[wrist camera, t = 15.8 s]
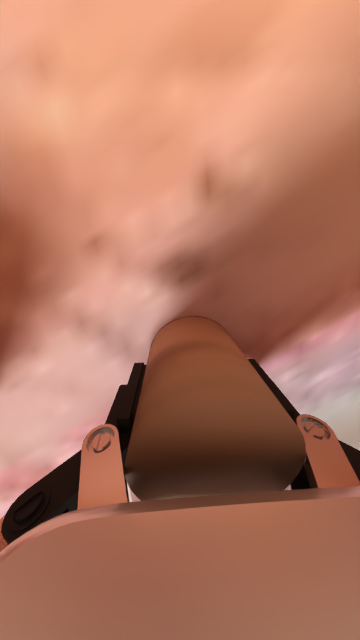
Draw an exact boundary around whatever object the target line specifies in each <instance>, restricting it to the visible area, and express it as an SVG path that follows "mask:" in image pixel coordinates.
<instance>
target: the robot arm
mask: <svg viewBox="0 0 360 640" xmlns="http://www.w3.org/2000/svg"><path fill="white" fill-rule="evenodd" d="M248 361H249V362H250V363H251V365H252V366H253V367H254V369H255V370H256V371H257V373H258V374H259V375H260V377H261V378H262V379H263V381H264V382H265V383H266V385H267V386H268V387H269V389H270V390H271V391H272V393H273V394H274V395H275V397H276V398H277V399H278V401H279V402H280V403H281V405H282V406H283V407H284V409H285V410H286V412H287V413H288V414H289V416H290V417H291V418H292V420H293V421H294V422H295V424H296V425H297V426H298V428H299V429H300V431H301V433H302V435H303V437H304V440H305V444H306V454H305V460H304V463H303V466H302V468H301V470H300V472H299V474H298V475H297V476H296V478H295V479H294V480H293V482H292V483H291V484H290V485H289V486H288V487H287V490H282V491H267V492H253V493H239V494H225V495H211V496H198V497H185V498H172V499H160V500H147V501H136V502H130V500H129V493H128V486H127V481H126V477H125V461H126V456H127V451H128V447H129V442H130V438H131V433H132V429H133V424H134V420H135V415H136V411H137V406H138V402H139V397H140V393H141V388H142V384H143V379H144V375H145V370H146V366H147V365H144V363H135V364H134V366H133V369H132V372H131V375H130V378H129V381H128V384H127V385H120V387H119V389H118V392H117V394H116V397H115V400H114V402H113V405H112V407H111V410H110V412H109V415H108V418H107V420H106V423H105V424H104V425H100V426H98V427H96V428H94V429H93V430H92V431H90V432H89V433H88V435H87V436H86V437H85V439H84V441H83V444H82V450H80V451H79V452H77V453H76V454H75V455H73V456H72V457H71V458H69V459H68V460H67V461H65V462H64V463H63V464H61V465H60V466H58V467H57V468H56V469H54V470H53V471H52V472H50V473H49V474H48V475H46V476H45V477H44V478H42V479H41V480H40V481H38V482H37V483H35V484H34V485H33V486H31V487H30V488H29V489H27V490H26V491H25V492H24V493H23V494H21V495H20V496H19V497H18V498H17V499H16V501H15V502H14V503H13V504H12V505H11V507H10V508H9V510H8V511H7V513H6V515H5V516H4V517H2V518H1V519H0V640H360V451H359V450H357V449H355V448H353V447H351V446H349V445H347V444H345V443H343V442H341V441H339V440H338V439H337V438H336V436H335V434H334V432H333V431H332V429H331V428H330V427H329V426H328V425H327V424H326V423H325V422H323V421H322V420H320V419H318V418H316V417H314V416H311V415H306V414H303V415H300V414H299V413H298V412H297V410H296V409H295V408H294V407H293V406H292V404H291V403H290V402H289V401H288V399H287V398H286V397H285V396H284V394H283V393H282V392H281V391H280V390H279V388H278V387H277V386H276V385H275V383H274V382H273V381H272V380H271V379H270V378H269V377H268V375H267V374H266V373H265V372H264V370H263V369H262V368H261V367H260V366H259V364H258V363H257V362H256V361H255V360H254V359H248Z"/></svg>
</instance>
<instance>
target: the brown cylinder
mask: <svg viewBox="0 0 360 640" xmlns="http://www.w3.org/2000/svg"><path fill="white" fill-rule="evenodd" d="M305 454H306V444H305V440H304V437H303V435H302V433H301V431H300V429H299V428H298V426H297V425H296V424H295V422H294V421H293V420H292V418H291V417H290V416H289V414H288V413H287V412H286V410H285V409H284V407H283V406H282V405H281V403H280V402H279V401H278V399H277V398H276V397H275V395H274V394H273V393H272V391H271V390H270V389H269V387H268V386H267V385H266V383H265V382H264V381H263V379H262V378H261V377H260V375H259V374H258V373H257V371H256V370H255V369H254V367H253V366H252V365H251V363H250V362H249V361H248V359H247V358H246V357H245V355H244V354H243V353H242V351H241V350H240V349H239V347H238V346H237V345H236V343H235V342H234V341H233V339H232V338H231V337H230V335H229V334H228V333H227V331H226V330H225V329H224V328H223V327H222V326H221V325H220V324H218V323H217V322H215V321H213V320H211V319H208V318H204V317H198V316H189V317H183V318H179V319H176V320H174V321H172V322H170V323H168V324H167V325H166V326H164V327H163V328H162V329H161V330H160V331H159V332H158V333H157V335H156V336H155V338H154V339H153V341H152V344H151V348H150V352H149V357H148V361H147V366H146V370H145V375H144V379H143V384H142V388H141V393H140V397H139V402H138V406H137V411H136V415H135V420H134V424H133V429H132V433H131V438H130V442H129V447H128V451H127V456H126V461H125V477H126V481H127V483H128V486H129V488H130V489H131V491H132V492H133V493H134V494H135V496H136V497H137V498H138V499H139V500H141V501H147V500H160V499H172V498H185V497H198V496H211V495H225V494H239V493H253V492H267V491H282V490H284V489H286V488H287V487H288V486H289V485H290V484H291V483H292V482H293V480H294V479H295V478H296V476H297V475H298V474H299V472H300V470H301V468H302V466H303V463H304V460H305Z"/></svg>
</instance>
